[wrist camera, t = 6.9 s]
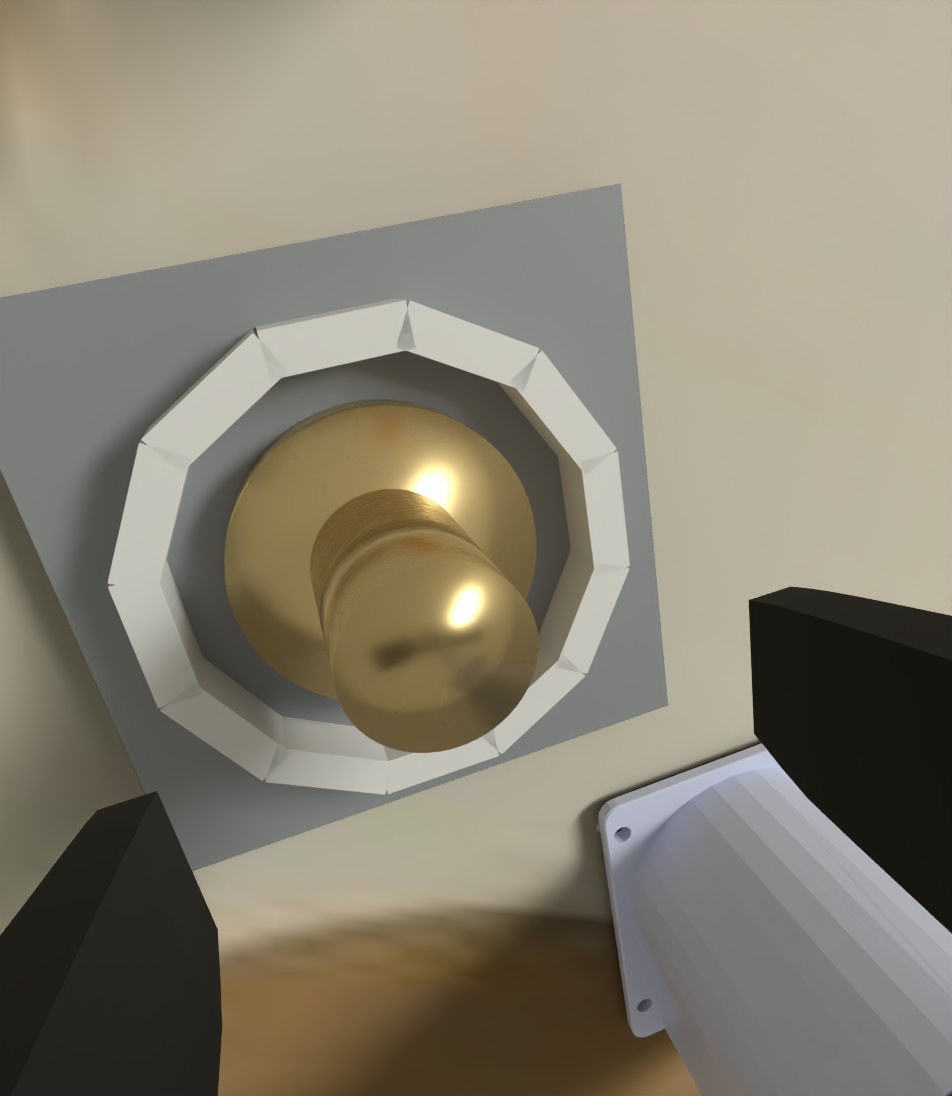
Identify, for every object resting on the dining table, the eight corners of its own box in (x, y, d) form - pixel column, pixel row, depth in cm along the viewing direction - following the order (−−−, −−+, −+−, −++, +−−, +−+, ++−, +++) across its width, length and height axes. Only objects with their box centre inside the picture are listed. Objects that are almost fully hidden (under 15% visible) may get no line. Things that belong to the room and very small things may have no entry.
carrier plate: (648, 685, 19) (694, 731, 17) (184, 843, 17) (177, 917, 15) (597, 190, 15) (652, 174, 13) (-48, 309, 12) (-104, 313, 10)
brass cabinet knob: (530, 642, 17) (636, 775, 12) (263, 709, 15) (270, 886, 11) (506, 376, 14) (624, 418, 10) (190, 426, 13) (161, 502, 9)
